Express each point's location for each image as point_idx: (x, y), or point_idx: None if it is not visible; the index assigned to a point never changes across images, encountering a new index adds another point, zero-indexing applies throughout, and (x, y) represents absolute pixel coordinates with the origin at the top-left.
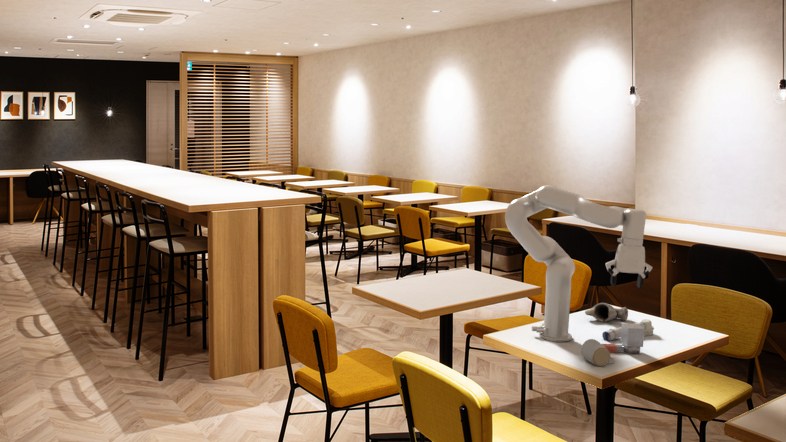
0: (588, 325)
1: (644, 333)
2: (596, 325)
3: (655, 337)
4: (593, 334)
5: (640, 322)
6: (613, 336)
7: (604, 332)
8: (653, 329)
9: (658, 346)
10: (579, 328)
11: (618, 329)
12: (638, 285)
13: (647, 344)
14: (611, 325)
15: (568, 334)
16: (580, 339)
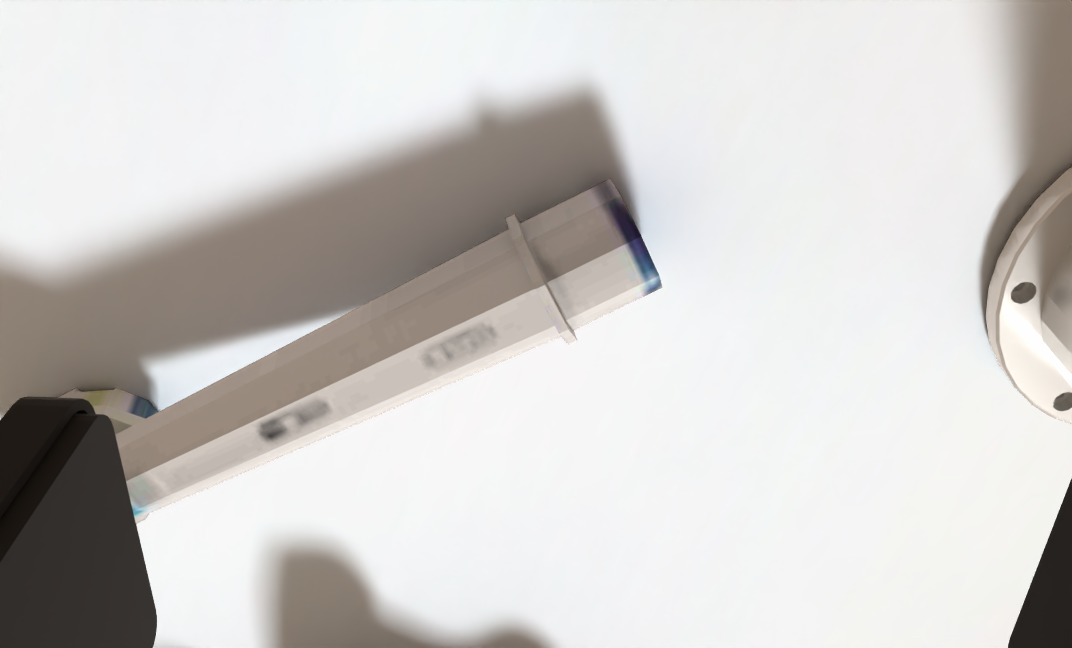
0: (617, 610)
1: (124, 406)
2: (538, 616)
3: (20, 343)
4: (683, 384)
5: (136, 504)
6: (555, 217)
7: (655, 268)
8: None
9: (45, 40)
10: (747, 533)
11: (469, 317)
12: (104, 555)
13: (168, 105)
14: (389, 626)
15: (1025, 300)
16: (913, 222)
